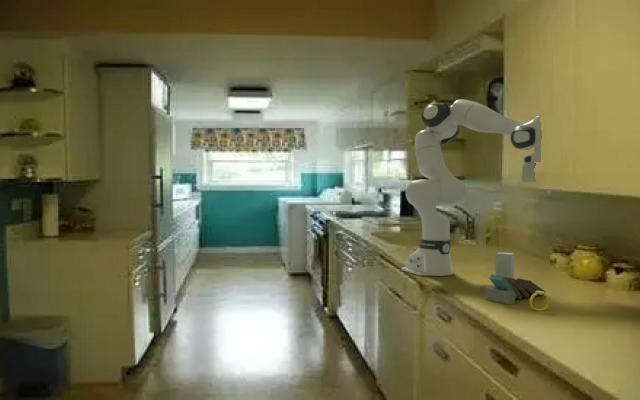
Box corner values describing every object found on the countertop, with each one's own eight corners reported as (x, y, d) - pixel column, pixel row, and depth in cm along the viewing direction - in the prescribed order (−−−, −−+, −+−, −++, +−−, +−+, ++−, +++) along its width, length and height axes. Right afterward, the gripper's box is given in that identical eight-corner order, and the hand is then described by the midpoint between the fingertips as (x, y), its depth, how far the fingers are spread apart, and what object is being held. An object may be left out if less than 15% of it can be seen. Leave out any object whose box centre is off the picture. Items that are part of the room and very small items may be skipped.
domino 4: (536, 296, 214) (520, 284, 209) (524, 294, 218) (508, 282, 213) (538, 292, 215) (522, 280, 210) (526, 290, 219) (510, 278, 214)
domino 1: (515, 299, 208) (501, 280, 203) (502, 296, 212) (489, 278, 207) (517, 295, 208) (503, 276, 204) (505, 293, 212) (491, 274, 208)
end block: (485, 299, 211) (485, 287, 210) (490, 298, 212) (490, 286, 212) (509, 304, 202) (509, 292, 202) (514, 303, 204) (514, 291, 204)
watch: (545, 309, 197) (547, 291, 197) (550, 311, 194) (551, 292, 194) (527, 308, 196) (529, 290, 196) (531, 310, 193) (533, 291, 193)
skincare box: (513, 284, 236) (514, 253, 235) (511, 286, 233) (511, 254, 232) (497, 283, 239) (498, 251, 239) (494, 285, 236) (495, 253, 235)
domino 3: (527, 298, 212) (512, 282, 207) (515, 296, 216) (500, 280, 211) (529, 294, 212) (514, 278, 207) (517, 292, 216) (502, 276, 212)
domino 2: (520, 300, 209) (506, 281, 205) (508, 297, 214) (494, 279, 209) (522, 296, 210) (509, 277, 206) (510, 293, 214) (497, 275, 210)
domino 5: (544, 295, 217) (528, 284, 211) (531, 293, 221) (515, 282, 215) (545, 291, 217) (529, 280, 212) (533, 288, 221) (517, 278, 216)
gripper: (576, 156, 230) (575, 194, 230) (529, 158, 247) (529, 193, 247) (565, 156, 227) (565, 194, 227) (519, 158, 244) (519, 194, 244)
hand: (546, 194), depth 237 cm, fingers closed
